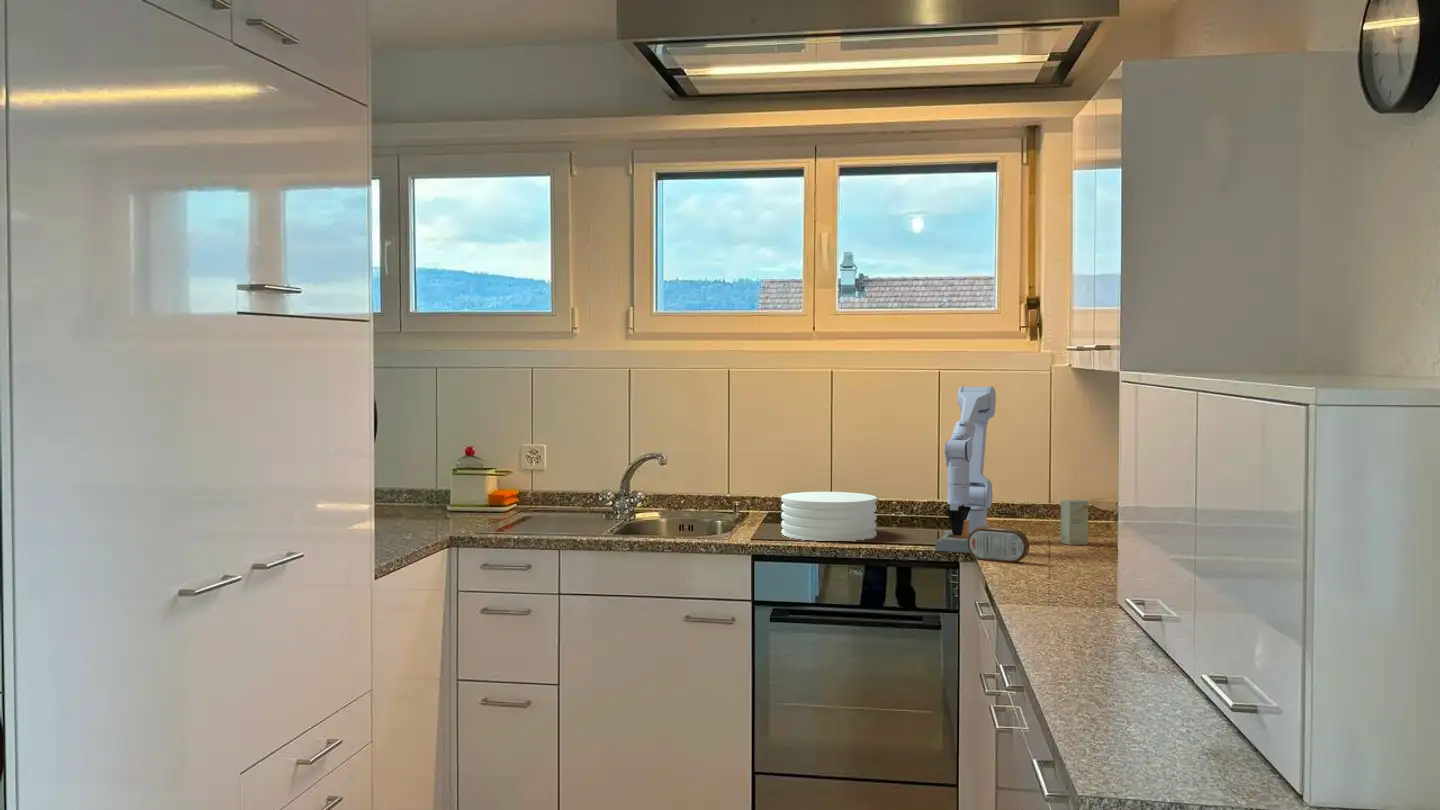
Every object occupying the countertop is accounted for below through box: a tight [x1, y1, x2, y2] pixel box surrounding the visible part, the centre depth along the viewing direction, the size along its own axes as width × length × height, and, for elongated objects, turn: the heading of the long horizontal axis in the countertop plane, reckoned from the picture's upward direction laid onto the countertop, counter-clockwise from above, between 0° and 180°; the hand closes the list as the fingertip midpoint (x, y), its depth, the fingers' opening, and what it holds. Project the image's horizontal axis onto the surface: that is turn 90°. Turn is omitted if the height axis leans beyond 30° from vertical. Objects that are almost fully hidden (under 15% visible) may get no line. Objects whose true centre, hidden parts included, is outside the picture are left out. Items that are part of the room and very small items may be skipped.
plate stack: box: [780, 491, 878, 542], centre depth 286 cm, size 28×28×12 cm
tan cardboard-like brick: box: [954, 520, 970, 538], centre depth 260 cm, size 4×4×6 cm
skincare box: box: [1060, 499, 1090, 546], centre depth 268 cm, size 6×4×12 cm
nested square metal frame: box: [935, 529, 971, 554], centre depth 260 cm, size 12×10×4 cm
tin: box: [967, 525, 1030, 564], centre depth 242 cm, size 15×3×8 cm, turn 59°
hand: (958, 534), depth 260 cm, fingers closed on tan cardboard-like brick, 3 cm apart
